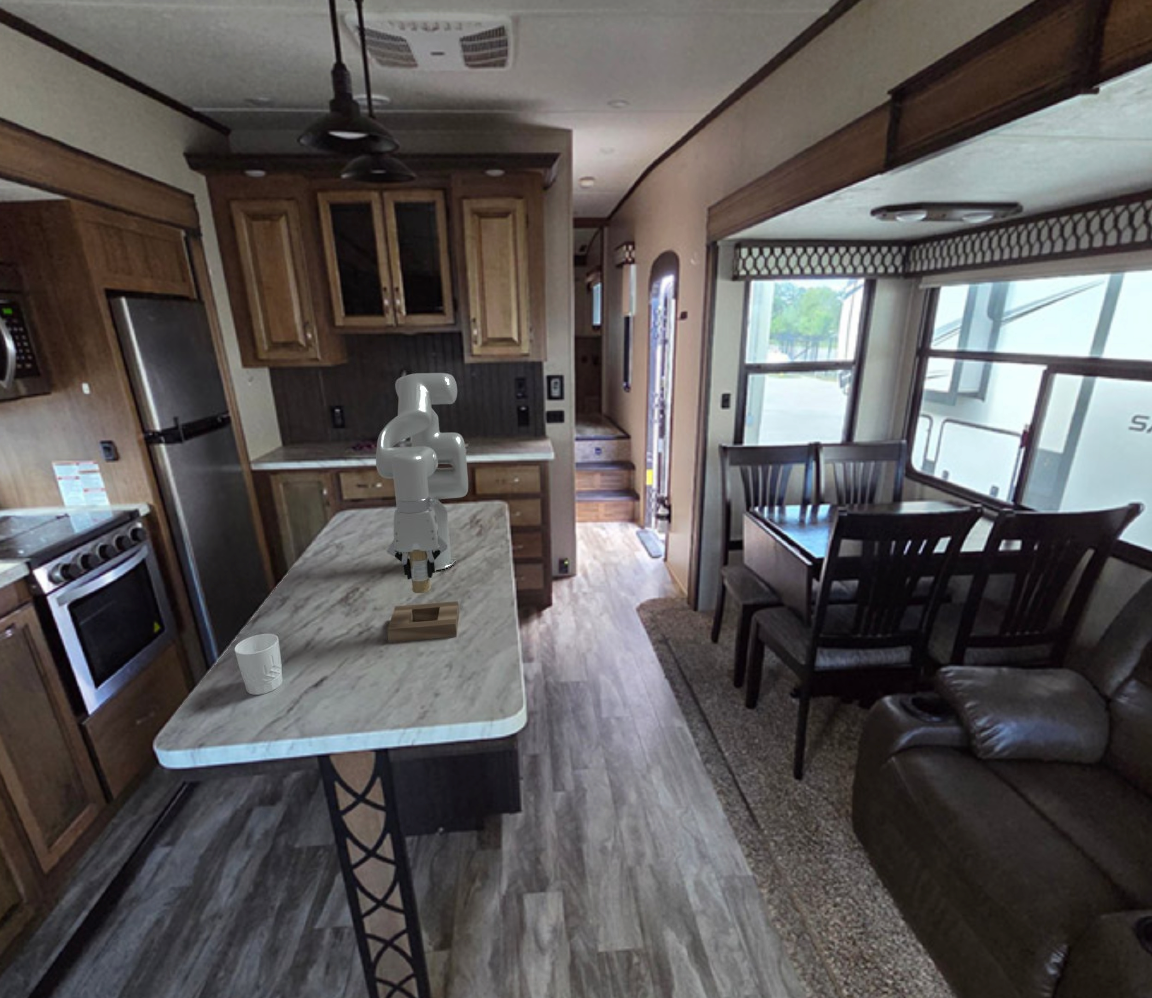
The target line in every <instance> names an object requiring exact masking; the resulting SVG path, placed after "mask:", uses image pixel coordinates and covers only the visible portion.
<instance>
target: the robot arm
mask: <svg viewBox="0 0 1152 998" xmlns="http://www.w3.org/2000/svg"><path fill="white" fill-rule="evenodd" d="M394 384H395V386H394V387H395V392H396V394H397V398H398V403H397V404H398V405H397V406H398V407H397V416H395V417H394V418H393V419H391V420H390V421H389V422H388V423H387V424H386V425H385V426H383V427H384V428H383V429H382V430H381V431H380V432H379V435H378V438H377V444H376V452H375V453H376V454H375V466H376V470H377V472H378V474H379V475H380V476H381V477H382V478H384V479H390V480H391V479H393V486H394V495H395V502H396V509H395V510H394V514H393V540H392V541H391V543H390V545H389V546H388V547H387V550H386V553H387V554H389V555H391V556H393V557H395V559H397V560H399V561H400V562H401V564H402V565H403V571H404V572H403V573H404V576H406V577H407V578H406V579H407V580H408V581H409V580H412V579H411V571H410V558H409V552H413V550H412V547H413V544H415V543H417V544H418V545H419V546H420V548H421V549H419V550H421V551H426V553H427V556H428V563H427V566H428V576H429V579H433V574H435V573H436V571H435V570H438V569H443V568H446V567H448V566H450V565H452V564H453V563H454V562H455V561H456V562H457V558H456V557H455V558H451V555H452V554H451V544H450V543H451V540H450V528H449V519H448V511H447V508H446V507H445V505H444V504H443V503H442V502H441V501H440V500H442V499H443V500H444V499H457V498H463V497H466V495H467V494H468V492H469V476H468V475H469V474H468V466H467V465H468V463H467V462H468V461H467V450H466V444H465V441H464V438H463V436H462V435H461V434H460V433H458V432H441V431H440V426H439V425H440V423H439V421H440V420H439V416H438V414H437V413H436V412H435V410H434V409H433V408H432V405H453V404H454V403H455V401H456V400H457V397H458V385H457V382H456V379H455V377H454V376H453V375H452V374H449V373H447V372H446V373H445V372H428V373H427V372H426V373H424V372H421V373H419V372H418V373H411V374H407V375H404V376H401V377H399V378H398V379H396V381H395V383H394ZM409 438H410V440H411V446H400V447H399V446H397V447H396V446H395V445H397V444H398V443H400V442H402V441H404V440H407V439H409ZM440 464H441V465H444V464H445V465H446V464H449V465H451V466H452V467H440V468H439V467H438V466H439V465H440ZM451 559H456V560H454V561H453V560H451ZM450 563H451V564H450Z"/></svg>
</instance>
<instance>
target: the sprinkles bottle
mask: <svg viewBox="0 0 1152 998" xmlns="http://www.w3.org/2000/svg"><path fill="white" fill-rule="evenodd" d="M419 549H421V548H420V546H419V545H418V544H417V543H415V544H413V547H412V550H413V552H409V557H408V558H409V560H410V571H411V579H410V580H411V585H412V586H411V587H412V588H411V591H412V592H413V593H414V594H425V593H427V592H429V591H431V589H432V586H431V582H430V581H431V580H430V579H431V578H429V576H428V566H427V563H428V556H427V553H426V551H421V550H419Z"/></svg>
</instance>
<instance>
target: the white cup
mask: <svg viewBox="0 0 1152 998" xmlns="http://www.w3.org/2000/svg"><path fill="white" fill-rule="evenodd" d="M233 650H234V653H235V656H236V661H237V664H238V668H239V670H240V673H241V674H240V675H241V677H242V680H243V683H244V687H245V690H246V692H247V693H248V694H250V695H254V696H258V695H264V694H267V693H271V692H273V691H275V690H276V689H277V688H279V687H280V686H281V685H282V683H283V682H284V681H283V680H284V679H283V672H282V670H283V668H282V667H283V665H282V656H281V649H280V641H279V637H278V636H277V635H276V634H274V633H262V634H256V635H255V634H254V635H252V636H249V637H246V638H245V639H243V640H241V641H239V642H238V643H237V644H236V645H235V647H234V649H233Z"/></svg>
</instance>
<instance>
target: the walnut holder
mask: <svg viewBox="0 0 1152 998" xmlns="http://www.w3.org/2000/svg"><path fill="white" fill-rule="evenodd" d="M459 607H460V606H459V601H458V600H456V601H443V602H435V603H434V602H432V603H431V602H430V603H420V604H409V605H407V604H406V605H395V607H394V610H393V612H392V614H391V619H390V621H389V624H388V625H387V629H386V631H387V640H388V643H398V642H399V643H400V642H410V641H420V640H431V639H441V638H442V639H443V638H445V639H446V638H451V637H452V638H453V637H455V638H456V637H457V636H458V628H459V627H458V626H459V619H460V618H459V617H460V608H459Z"/></svg>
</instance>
